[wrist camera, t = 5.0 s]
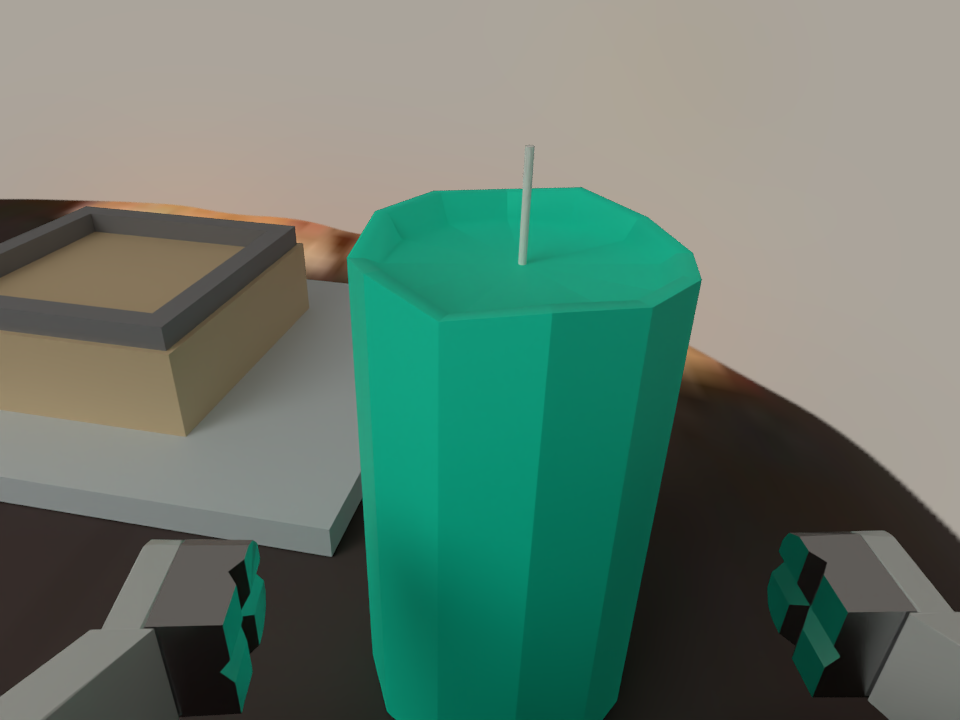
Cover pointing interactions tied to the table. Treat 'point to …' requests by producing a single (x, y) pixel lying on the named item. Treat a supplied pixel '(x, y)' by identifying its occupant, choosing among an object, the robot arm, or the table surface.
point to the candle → (512, 441)
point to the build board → (227, 458)
